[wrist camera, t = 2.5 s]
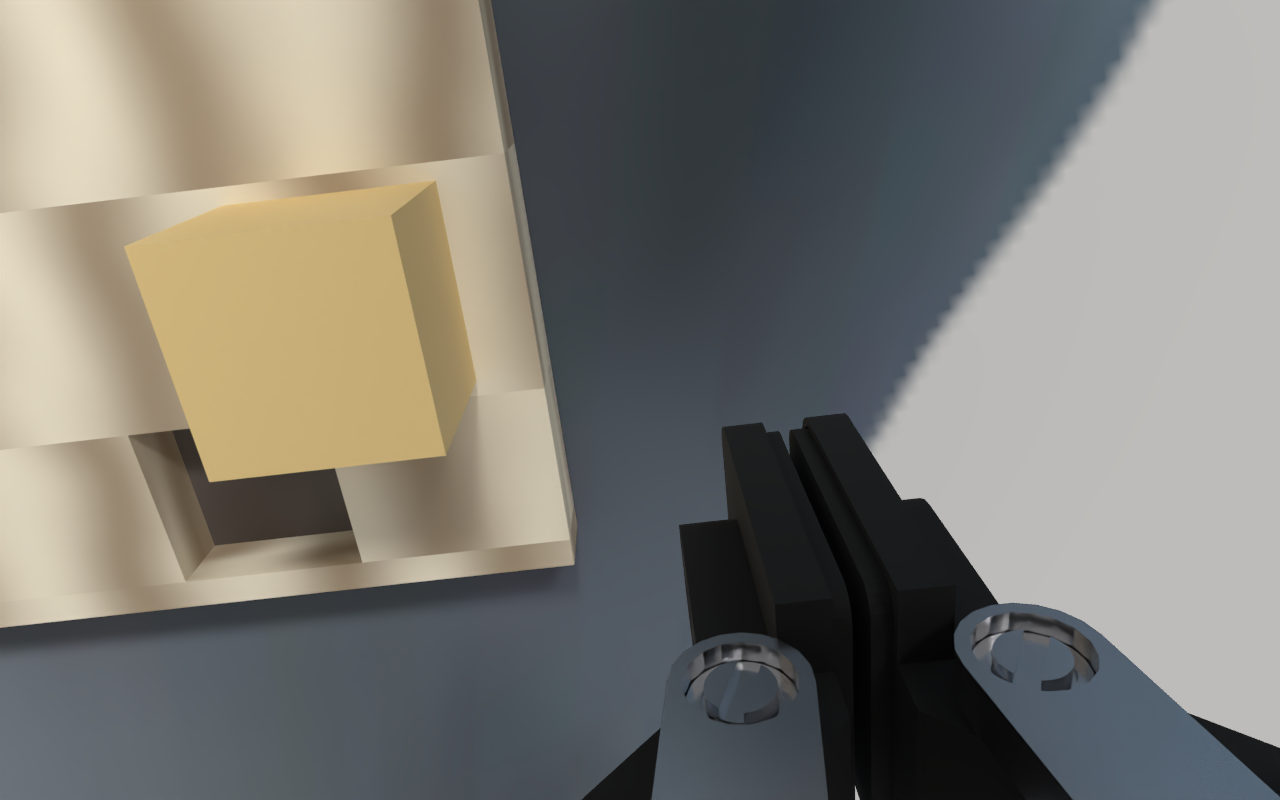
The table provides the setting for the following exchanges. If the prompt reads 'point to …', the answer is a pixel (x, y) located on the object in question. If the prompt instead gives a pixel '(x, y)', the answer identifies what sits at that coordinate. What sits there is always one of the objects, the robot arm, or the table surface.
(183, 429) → the cream sorting tray
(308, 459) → the ochre block
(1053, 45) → the table surface
